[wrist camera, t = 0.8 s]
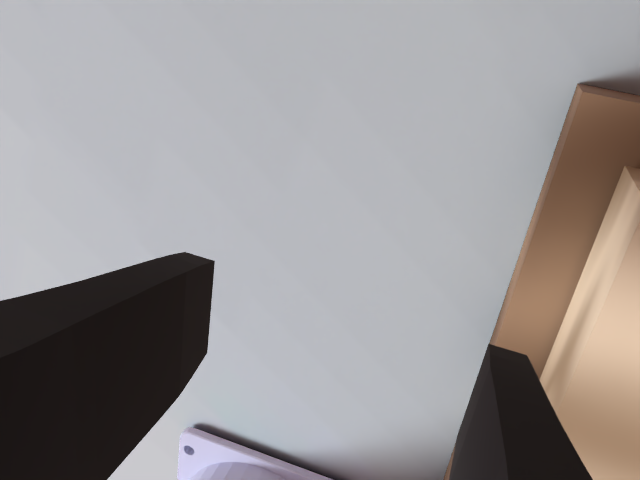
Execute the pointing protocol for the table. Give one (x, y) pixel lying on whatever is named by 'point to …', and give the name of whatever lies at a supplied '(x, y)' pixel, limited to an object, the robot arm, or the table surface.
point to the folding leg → (603, 346)
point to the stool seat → (567, 219)
